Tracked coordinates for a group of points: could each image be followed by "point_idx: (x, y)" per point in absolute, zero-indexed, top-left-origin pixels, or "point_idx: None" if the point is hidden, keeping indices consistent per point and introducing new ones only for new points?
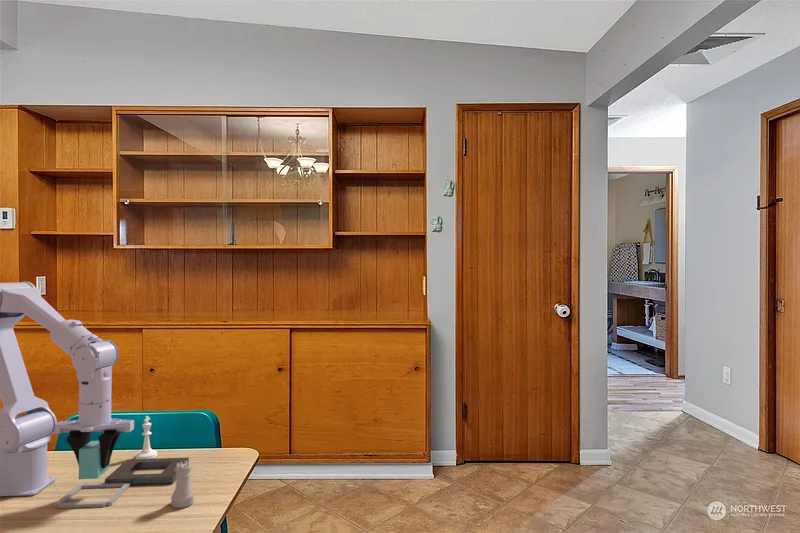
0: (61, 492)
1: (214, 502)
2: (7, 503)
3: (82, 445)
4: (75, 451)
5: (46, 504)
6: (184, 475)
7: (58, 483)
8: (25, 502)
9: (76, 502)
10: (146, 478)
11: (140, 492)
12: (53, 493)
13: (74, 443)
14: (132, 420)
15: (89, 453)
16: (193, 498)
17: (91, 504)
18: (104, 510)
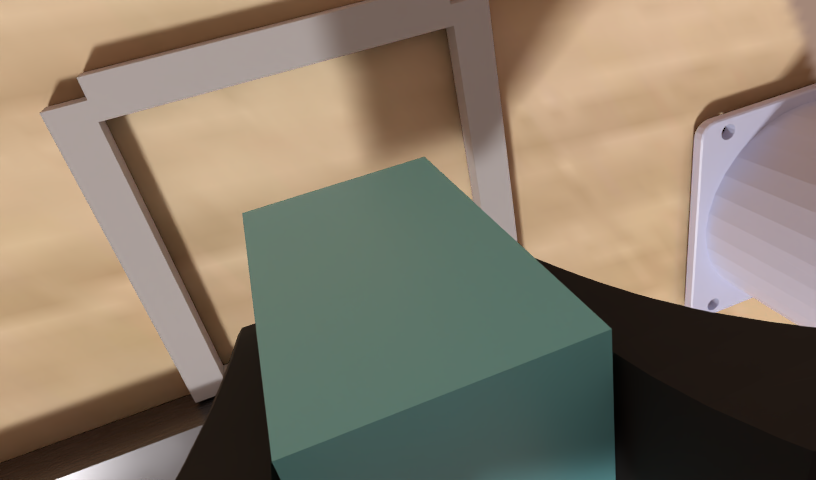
0: (568, 199)
1: None
2: (784, 5)
3: (637, 441)
4: (653, 314)
5: (557, 31)
6: None
7: (648, 283)
8: (695, 36)
9: (343, 53)
10: (77, 467)
11: (14, 338)
12: (605, 177)
13: (782, 373)
14: None
15: (406, 342)
16: None
17: (192, 46)
18: (14, 5)
